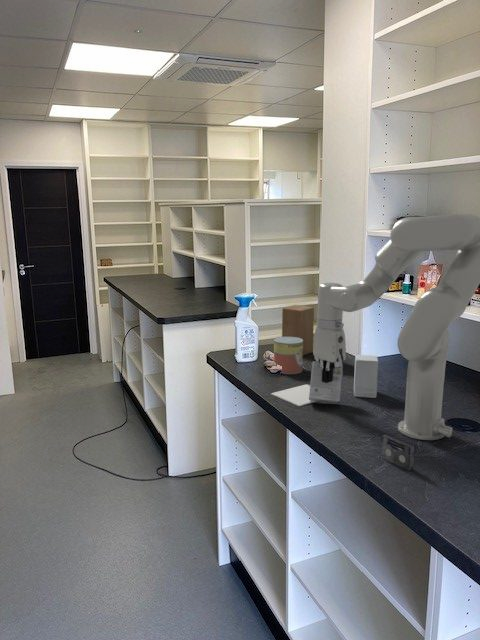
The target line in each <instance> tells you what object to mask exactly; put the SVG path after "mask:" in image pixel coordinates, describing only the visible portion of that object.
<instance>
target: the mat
mask: <svg viewBox="0 0 480 640" xmlns="http://www.w3.org/2000/svg"><path fill="white" fill-rule="evenodd" d="M309 393H310V384H303V385H298V386H294V387H291V388H287V389H283V390H278V391H275V392H272V393H270V395H271V396H273V397H275V398H279V399H281V400H282V401H285V402H288V403H289V404H291V405H295V406H297V407H299V408H300V407H304V406H307V405H310V404H313V403H317V402H318V401H310V400H309Z"/></svg>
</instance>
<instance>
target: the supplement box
mask: <svg viewBox="0 0 480 640" xmlns="http://www.w3.org/2000/svg"><path fill="white" fill-rule="evenodd" d="M378 359H379V358H378V356H377V355H371V354H370V355H369V354H368V355H367V354H364V355H363V354H355V358H354V373H353V374H354V377H353V396H354V397H357V398H358V397H359V398H368V399H369V398H373V399H375V398H377V394H378V393H377V392H378V377H379V376H378V375H379V374H378V373H379V372H378V371H379V370H378V369H379V360H378Z"/></svg>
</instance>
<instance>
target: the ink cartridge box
mask: <svg viewBox="0 0 480 640" xmlns="http://www.w3.org/2000/svg"><path fill="white" fill-rule="evenodd" d="M331 364H332V363H331ZM343 364H344V363H342V366H341V367H336V368H335V369H334V370H333V381H332V382H328V383H325V382H322V369H321V367H320V363H319V362H318V361H316V360H315V361H312V362H311V373H310V382H309V383H310V384H309V385H310V393H309V400H310V401H317V402H320V403H321V402H322V403H329V404H337V405H338V404H340V403H341V396H342V386H343V385H342V384H343V374H344V369H343V368H344V365H343Z"/></svg>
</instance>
